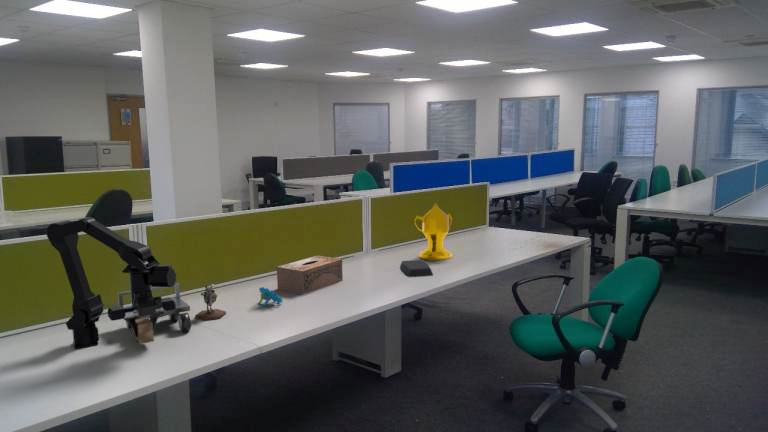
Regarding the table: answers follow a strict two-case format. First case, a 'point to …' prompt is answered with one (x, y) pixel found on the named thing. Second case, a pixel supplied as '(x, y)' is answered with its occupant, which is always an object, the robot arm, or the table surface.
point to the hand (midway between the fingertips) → (144, 335)
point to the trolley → (173, 314)
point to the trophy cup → (435, 233)
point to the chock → (144, 330)
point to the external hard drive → (416, 268)
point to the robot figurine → (209, 300)
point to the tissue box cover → (309, 274)
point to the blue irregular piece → (269, 296)
